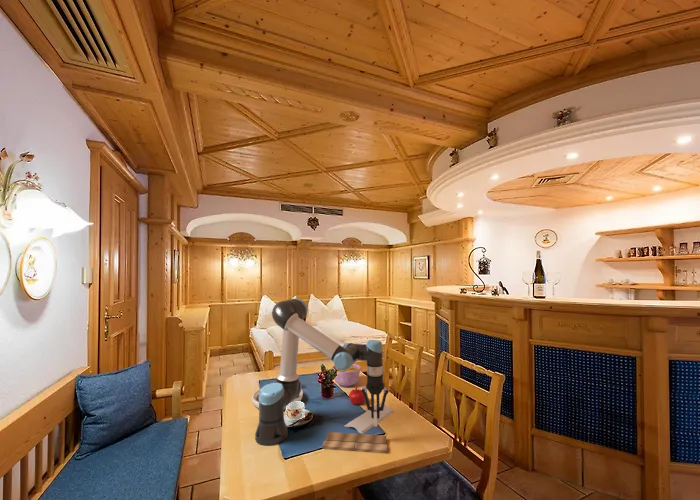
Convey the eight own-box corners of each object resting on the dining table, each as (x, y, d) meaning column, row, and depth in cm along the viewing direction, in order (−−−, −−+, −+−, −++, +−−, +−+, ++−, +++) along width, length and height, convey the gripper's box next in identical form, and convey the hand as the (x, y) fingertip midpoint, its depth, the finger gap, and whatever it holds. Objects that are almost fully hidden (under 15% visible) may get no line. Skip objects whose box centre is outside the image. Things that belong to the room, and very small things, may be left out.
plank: (325, 442, 147) (325, 439, 147) (328, 434, 153) (328, 431, 152) (386, 446, 143) (386, 443, 143) (386, 437, 149) (386, 435, 149)
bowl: (240, 408, 182) (241, 394, 183) (271, 389, 210) (271, 377, 211) (285, 417, 171) (285, 402, 172) (311, 395, 199) (311, 383, 200)
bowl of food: (366, 382, 221) (365, 365, 221) (351, 392, 203) (351, 374, 204) (342, 377, 231) (342, 361, 231) (326, 386, 214) (326, 369, 214)
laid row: (322, 448, 142) (322, 446, 142) (324, 442, 146) (324, 440, 146) (387, 453, 138) (387, 450, 138) (387, 447, 142) (387, 444, 142)
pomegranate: (365, 406, 184) (365, 390, 184) (348, 406, 184) (348, 390, 184) (365, 399, 193) (365, 383, 194) (349, 398, 194) (349, 383, 194)
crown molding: (362, 435, 154) (362, 427, 154) (343, 427, 161) (343, 419, 161) (393, 412, 176) (393, 406, 177) (375, 406, 184) (375, 400, 184)
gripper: (360, 376, 147) (361, 428, 145) (388, 377, 145) (389, 430, 144) (361, 370, 154) (362, 420, 153) (388, 371, 152) (389, 421, 151)
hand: (375, 424), depth 148 cm, fingers closed
